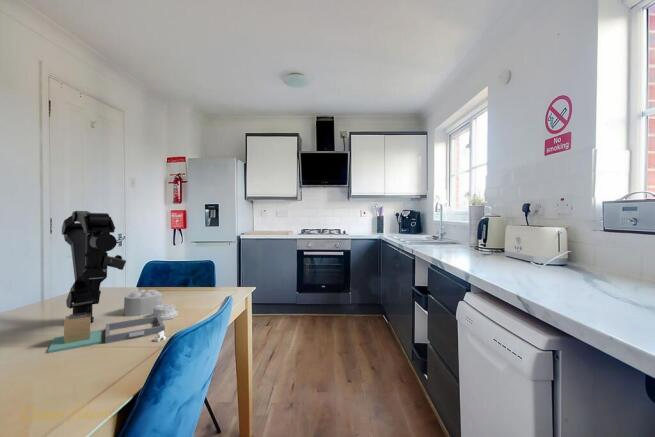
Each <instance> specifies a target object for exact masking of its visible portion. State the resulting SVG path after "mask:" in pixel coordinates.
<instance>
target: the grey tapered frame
mask: <svg viewBox="0 0 655 437" xmlns="http://www.w3.org/2000/svg"><path fill="white" fill-rule="evenodd" d="M153 323H156V324H157V326H152V327H148V328H147V327H146V328H141V329H136V330H131V331H125V332H120V333H119V332H118V333H114V334H110V333H111V332H110V331H112V330H119V329H124V328H129V327H136V326H141V325H149V324H153ZM165 328H166V327H165V324H164V322H163V320H161V318H160V316H154V317H150V316H147V317H142V318H137V319H136V318H135V319H129V320H124V321H123V320H122V321H118V322H111V323H106V324H105V339H104V340H105V344H108V343H114V342H120V341H125V340H130V339H137V338H141V337H146V336H151V335H158V333H159V332H161V331H164V333H165V330H166V329H165Z"/></svg>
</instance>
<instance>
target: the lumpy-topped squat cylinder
mask: <svg viewBox="0 0 655 437" xmlns="http://www.w3.org/2000/svg"><path fill="white" fill-rule="evenodd" d="M123 302H124V303H123V316H125V317H142V316H147V315H150V314H152V313H153V309H154V307H155V306H158V305H163V293H162V292H160V291H158V290H157V289H154V288H153V289H152V288H151V289H148V290H146V289H139V290H137V291H132V292H131V293H130V294H128V295H125V296H124V300H123ZM141 315H142V316H141Z"/></svg>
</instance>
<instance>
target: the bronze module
mask: <svg viewBox="0 0 655 437" xmlns="http://www.w3.org/2000/svg"><path fill="white" fill-rule="evenodd" d="M90 322H91V313H88V314H87V312H85V313H78V314H73V313H70V314H69V315H68V316H67V315H66V316H65V318H64V323H63V325H64V326H63V336H64V344H66V343H72V342H77V341H83V340H89V339H90V332H91V323H92V322H91V323H90Z"/></svg>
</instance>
